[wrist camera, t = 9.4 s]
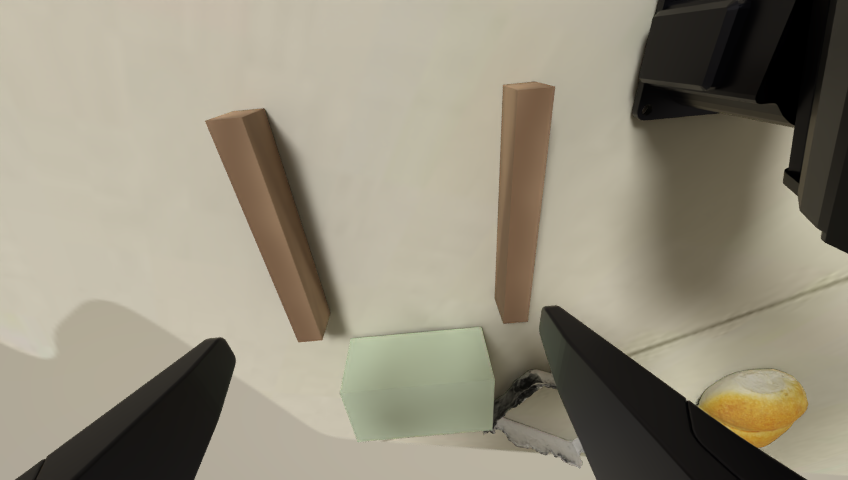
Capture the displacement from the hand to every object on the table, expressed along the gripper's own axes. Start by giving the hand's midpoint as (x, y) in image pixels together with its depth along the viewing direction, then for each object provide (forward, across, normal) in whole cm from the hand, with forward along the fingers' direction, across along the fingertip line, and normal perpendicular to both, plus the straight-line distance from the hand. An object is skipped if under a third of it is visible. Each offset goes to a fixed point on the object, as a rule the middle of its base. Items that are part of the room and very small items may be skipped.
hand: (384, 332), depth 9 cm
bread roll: (+11, -30, +25) cm, 40 cm away
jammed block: (+11, 0, +15) cm, 18 cm away
